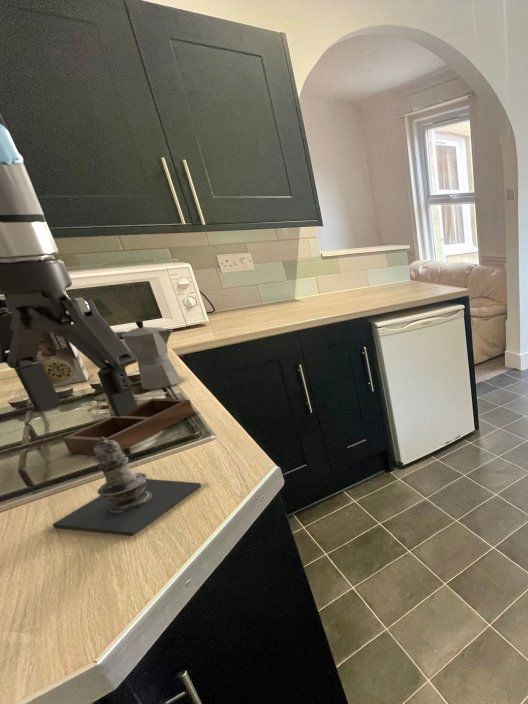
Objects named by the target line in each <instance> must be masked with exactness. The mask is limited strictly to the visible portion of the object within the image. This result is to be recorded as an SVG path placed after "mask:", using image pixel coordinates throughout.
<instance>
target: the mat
mask: <svg viewBox="0 0 528 704" xmlns="http://www.w3.org/2000/svg"><path fill="white" fill-rule="evenodd" d="M201 487H202V484H201V483H200V482H192V481H191V482H189V481H178V480H177V481H176V480H166V479H165V480H163V479H153V478H147V479H146V487H145V489H144V490H143V491H148V492H151V494H152V497H151V499H150V500H149V501H148V502H146V503H145V504H143V505H142V506H140V507H138V508H135V509H133V510H130V511H126V512H122V513H112V512H110V510H109V507H110V506H111V504H112V503H114V502H110V501H108V500H106V499H105V498H104V497H103V496H101V495H99V496H96V498H94V499H92V500H91V501H89V502H87V503H86V504H84V505H82V506H81V507H79V508H77V509H75V510H74V511H72V512H70V513H69V514H67V515H65V516H64V517H62V518H60V519H59V520H57V521H55V522H54V523H52V524H51V525H52V526H53V528H56V529H57V528H58V529H66V530H75V531H76V530H77V531H84V532H85V531H86V532H94V533H95V532H97V533H104V534H107V533H108V534H115V535H116V534H117V535H124V536H134V535H136V534H137V533H139V532H140V531H141V530H143V529H144V528H146V527H147V526H148V525H150V524H151V523H153V521H155V520H156V519H158V518H159V517H161V516H163V514H165V513H166V512H167V511H169V510H170V509H172V508H173V507H174V506H176V505H177V504H178V503H180V502H181V501H183V500H184V499H186V498H187V497H188V496H189V495H191V494H193V492H195V491H196V490H198V489H199V488H201Z"/></svg>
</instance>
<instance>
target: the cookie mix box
mask: <svg viewBox="0 0 528 704" xmlns="http://www.w3.org/2000/svg"><path fill="white" fill-rule="evenodd" d="M37 357H38V358H40V359H41V361H38V362H34V363H32V364H36V363H42V364H43V366H44V368H45V370H46V372H47V374H48V376H49V379H50V381H51V383H52V385H53V387H54V388H56V387H57V388H58V387H62V386H66V385H67V386H68V385H71V384H76V383H83V382H87V381H88V379H89V377H90V375H89V371H88V370H87V368H86V366H85V364H84V362H83V360H82V358H81V354H80V353H79V350H78V349H77V348H76V347H75V346H73V345H72V344H71V343H70V342H69V341H68V340H67V339H65V338H64V337H60V336H57V335H55V334H54V333H48V332H45V331H43V334H42V338H41V342H40V346H39V349H38V353H37ZM40 359H38V360H40Z"/></svg>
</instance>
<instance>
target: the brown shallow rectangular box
mask: <svg viewBox="0 0 528 704" xmlns="http://www.w3.org/2000/svg"><path fill="white" fill-rule="evenodd" d="M137 405H138V408H139V409H137V410H135V411H132V412H130V413H128V414H126V415H124V416H121V417H116V416H115V414H114V415H111V416H109V417H106V418H105V419H102V420H100V421H98V422H95V423H93V424H91V425H89V426H86V427H84V428H82V429H80V430H77V431H75V432H73V433H71V434H67V435H66V436H64V437H62V440H63V443H64V445H65V446H66V449H67V450H68V453H69V454H72V455H73V454H76V455H89V456H96V455H95V452H94V447H95V446H96V445H97V444H98V443H100V442H101V440H100V438H101V437H104V438H105V440H112V441H116V442H117V443H118V444H119V446H120V449H121V451H122V452H123V451H125V450H127V449H129V448H131V447H133V446H135V445H137V444H139V443H141V442H143V441H144V440H146V439H148V438H150V437H152V436H153V435H156V434H158V433H159V432H161V431H163V430H166V429H167V428H169V427H171V426H173V425H174V424H177V423H178V422H180V421H182V420H184V419H187V418H188V417H190V416H192V415H194V414H195V412H194V408H193V405H192V403H191V401H190V399H179V398H178V399H177V398H176V399H175V398H157V397H153V398H149V399H148V400H145V401H144V402H141V403H139V404H137ZM124 444H126V445H125V446H123V445H124Z"/></svg>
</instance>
